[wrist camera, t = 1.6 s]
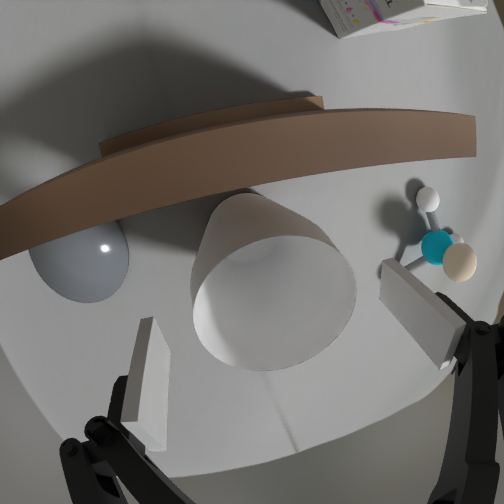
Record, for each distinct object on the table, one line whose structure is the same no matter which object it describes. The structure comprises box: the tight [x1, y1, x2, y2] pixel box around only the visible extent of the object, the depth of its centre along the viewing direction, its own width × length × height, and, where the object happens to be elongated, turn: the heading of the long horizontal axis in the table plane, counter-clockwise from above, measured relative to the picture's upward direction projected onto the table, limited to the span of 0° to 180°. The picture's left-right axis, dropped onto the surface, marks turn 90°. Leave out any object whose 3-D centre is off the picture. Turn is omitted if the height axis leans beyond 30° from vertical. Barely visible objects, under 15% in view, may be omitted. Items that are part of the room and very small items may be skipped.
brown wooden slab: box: [0, 96, 476, 260], centre depth 14 cm, size 4×18×16 cm, turn 100°
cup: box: [190, 193, 356, 371], centre depth 19 cm, size 9×9×12 cm
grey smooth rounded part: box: [29, 220, 129, 303], centre depth 23 cm, size 11×11×1 cm
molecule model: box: [404, 187, 477, 282], centre depth 25 cm, size 12×12×9 cm
